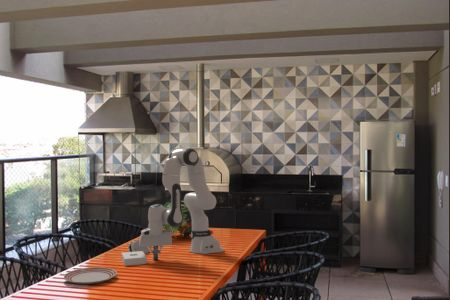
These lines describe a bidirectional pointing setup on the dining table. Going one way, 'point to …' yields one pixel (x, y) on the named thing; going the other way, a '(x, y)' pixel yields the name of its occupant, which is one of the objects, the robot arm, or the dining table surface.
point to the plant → (183, 227)
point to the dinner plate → (90, 275)
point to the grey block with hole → (134, 258)
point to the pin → (155, 253)
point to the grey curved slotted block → (137, 247)
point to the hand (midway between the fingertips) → (155, 253)
